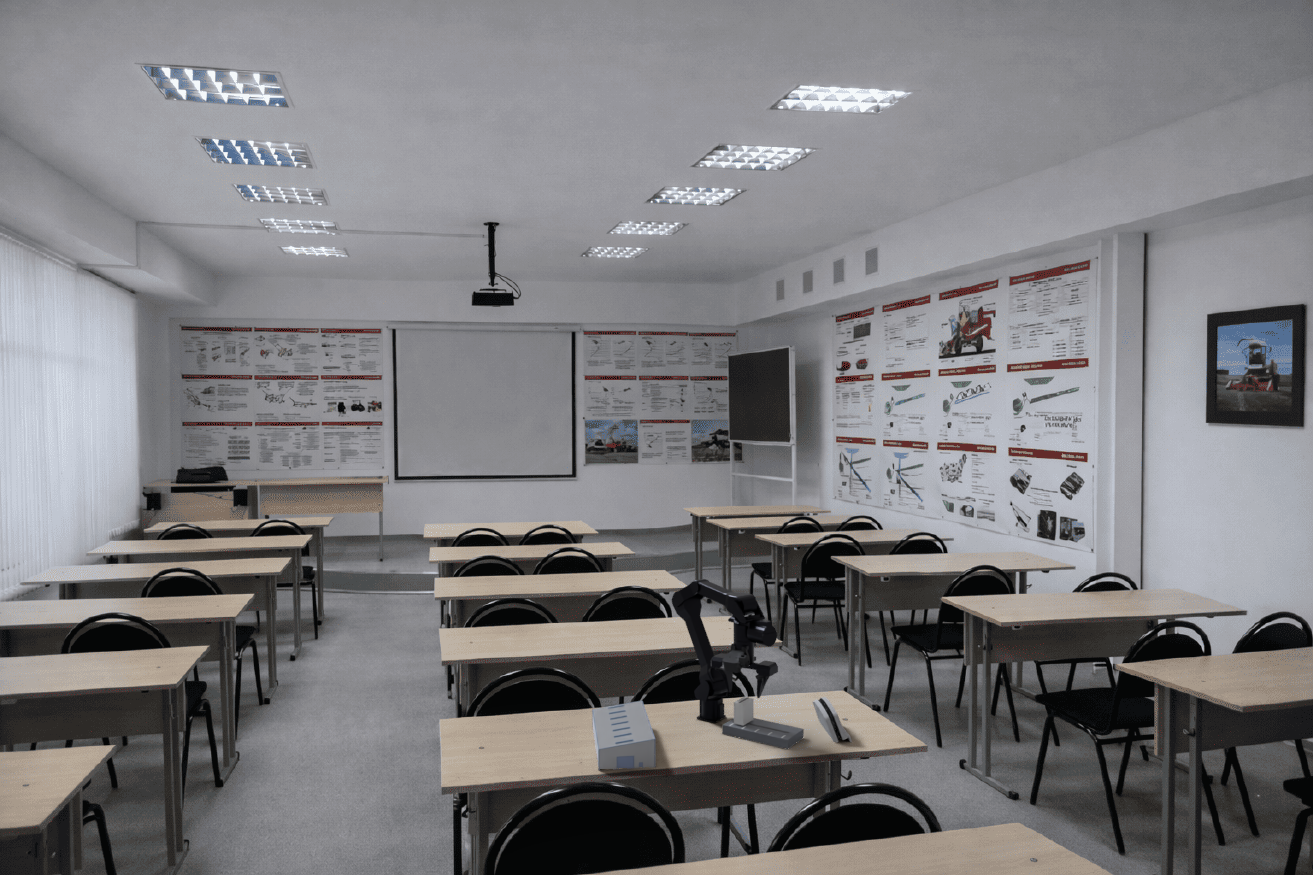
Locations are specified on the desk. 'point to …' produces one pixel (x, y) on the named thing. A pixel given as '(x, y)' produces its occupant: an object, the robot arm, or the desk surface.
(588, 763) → the desk surface
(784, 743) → the fader board
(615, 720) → the warehouse
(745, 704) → the fader knob
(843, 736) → the grey curved piece
